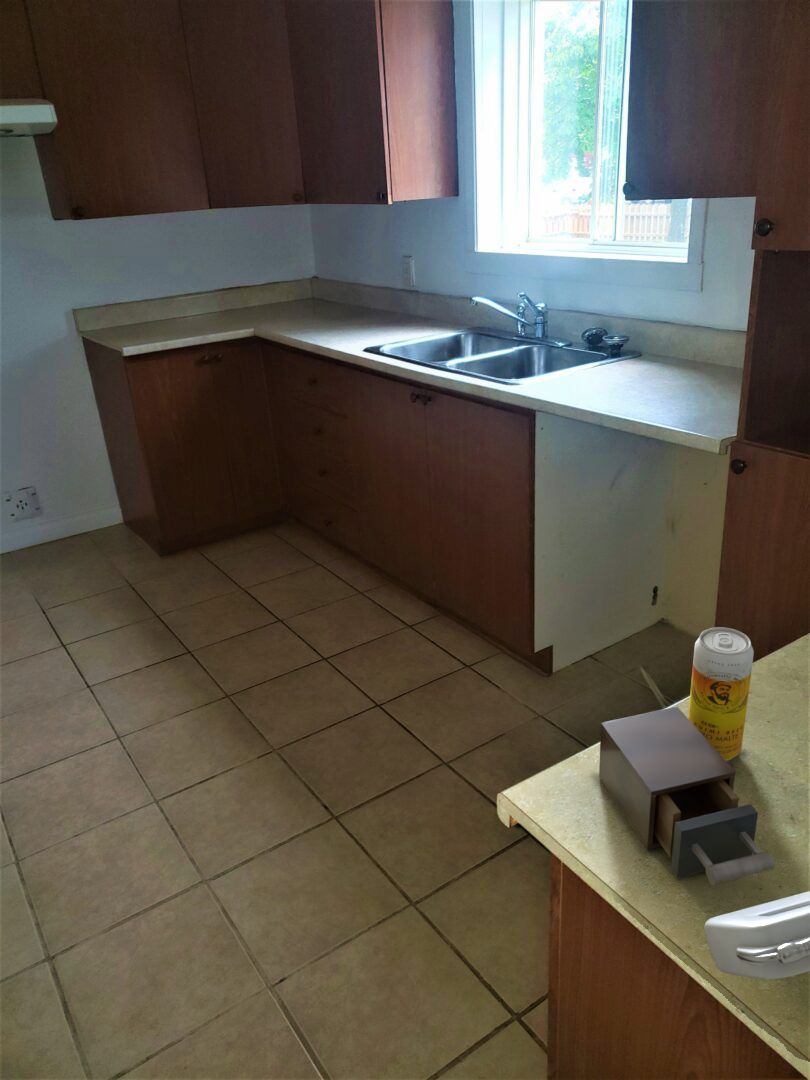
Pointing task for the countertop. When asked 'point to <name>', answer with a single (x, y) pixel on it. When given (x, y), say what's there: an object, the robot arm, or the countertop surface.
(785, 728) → the countertop surface
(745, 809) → the drawer
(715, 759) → the cabinet
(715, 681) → the beer can
